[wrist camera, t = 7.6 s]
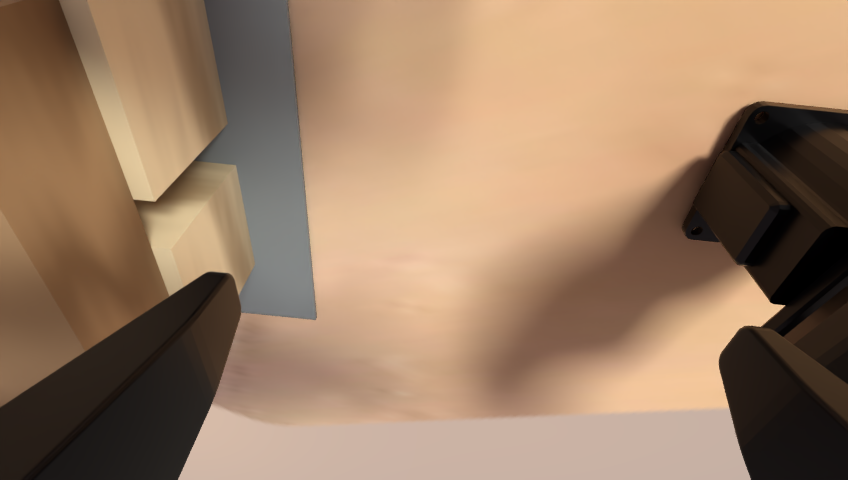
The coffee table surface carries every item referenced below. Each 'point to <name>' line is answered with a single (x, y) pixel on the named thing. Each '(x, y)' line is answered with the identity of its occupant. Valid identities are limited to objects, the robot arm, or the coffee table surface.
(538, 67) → the coffee table surface
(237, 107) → the build mat
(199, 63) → the beech cube
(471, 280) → the coffee table surface
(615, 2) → the coffee table surface
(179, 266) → the beech cube
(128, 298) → the walnut lintel
